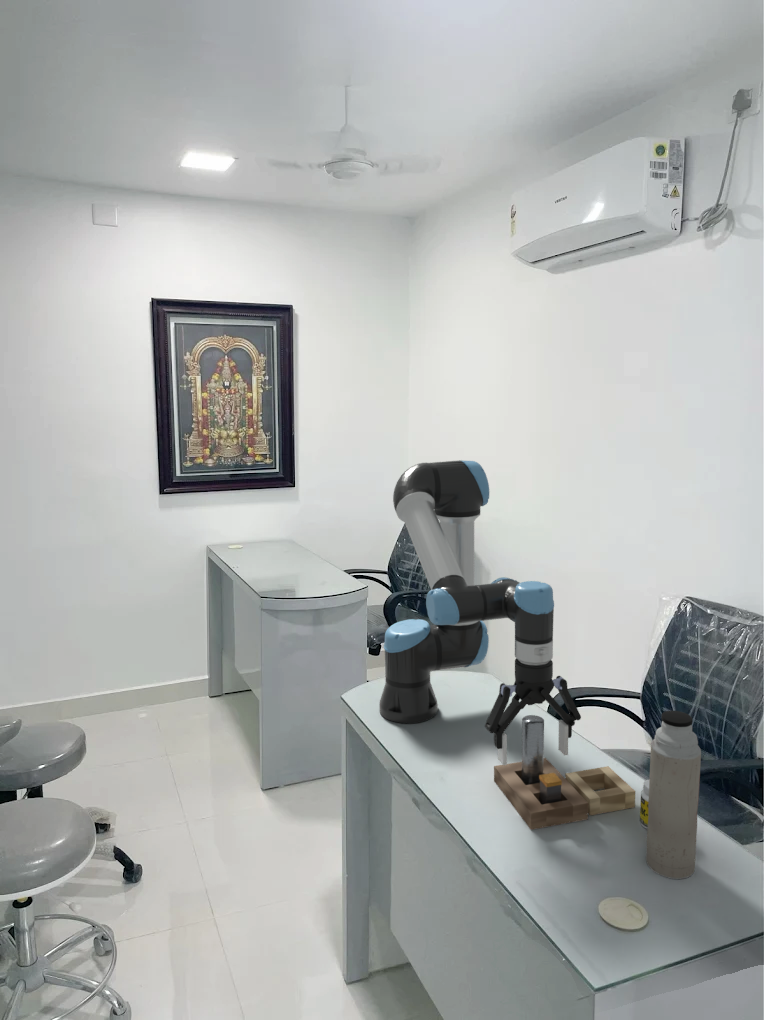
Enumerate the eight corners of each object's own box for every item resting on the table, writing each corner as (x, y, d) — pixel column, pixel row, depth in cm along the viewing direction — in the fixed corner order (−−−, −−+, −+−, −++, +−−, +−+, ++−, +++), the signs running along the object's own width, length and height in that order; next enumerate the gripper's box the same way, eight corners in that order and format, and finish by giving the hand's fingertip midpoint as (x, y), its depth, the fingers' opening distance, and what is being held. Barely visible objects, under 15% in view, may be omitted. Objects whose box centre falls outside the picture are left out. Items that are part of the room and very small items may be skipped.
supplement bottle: (634, 821, 142) (635, 781, 141) (653, 815, 144) (655, 775, 142) (652, 834, 138) (654, 793, 136) (671, 828, 140) (673, 787, 138)
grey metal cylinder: (517, 787, 155) (518, 716, 152) (537, 784, 156) (538, 713, 153) (527, 799, 150) (527, 726, 148) (546, 795, 151) (547, 723, 149)
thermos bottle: (689, 852, 132) (697, 707, 127) (699, 881, 125) (707, 728, 120) (643, 847, 134) (649, 704, 129) (649, 876, 126) (656, 724, 121)
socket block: (494, 781, 157) (494, 766, 157) (545, 772, 160) (545, 757, 160) (530, 829, 140) (531, 813, 140) (587, 819, 143) (588, 802, 142)
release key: (538, 806, 146) (539, 775, 145) (553, 803, 147) (554, 772, 146) (546, 815, 143) (546, 783, 142) (561, 812, 144) (561, 780, 143)
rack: (565, 788, 154) (565, 773, 153) (607, 781, 156) (608, 766, 155) (589, 815, 144) (590, 799, 144) (634, 807, 147) (635, 791, 146)
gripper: (482, 673, 141) (483, 775, 145) (599, 658, 147) (597, 756, 151) (468, 659, 149) (469, 757, 152) (580, 645, 154) (578, 740, 158)
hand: (533, 757), depth 151 cm, fingers open, 13 cm apart
